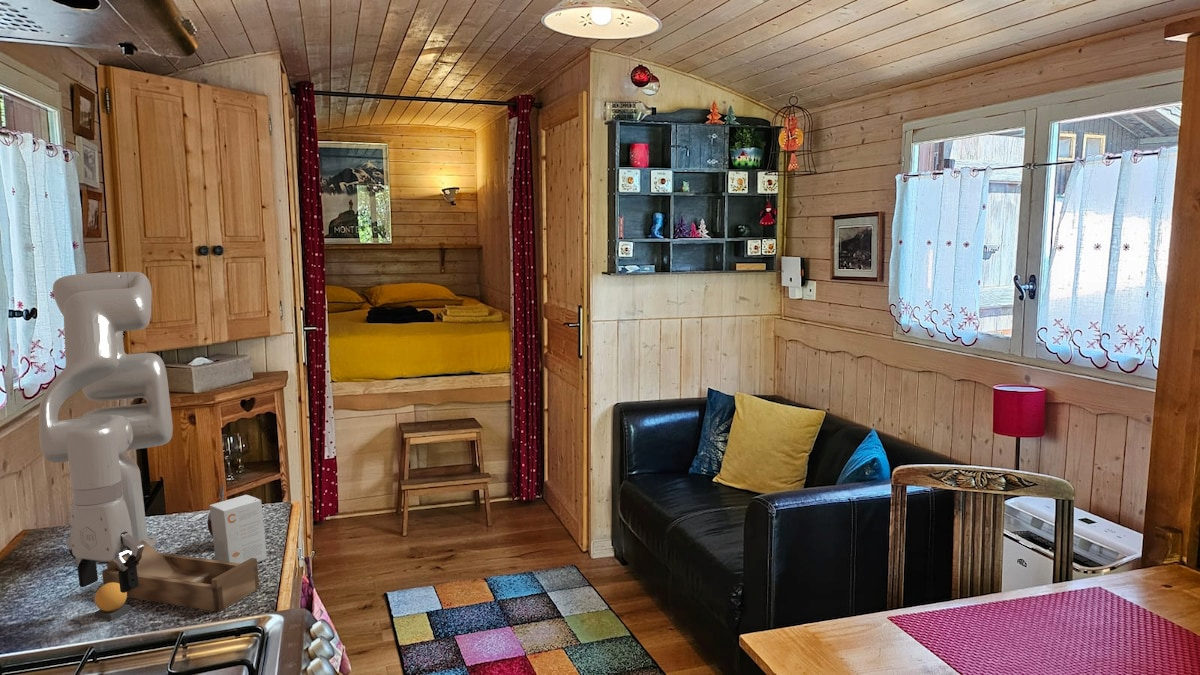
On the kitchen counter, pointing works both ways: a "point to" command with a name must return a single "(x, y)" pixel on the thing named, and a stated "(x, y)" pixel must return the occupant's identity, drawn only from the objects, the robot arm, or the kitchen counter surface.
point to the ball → (110, 597)
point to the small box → (238, 529)
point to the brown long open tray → (189, 580)
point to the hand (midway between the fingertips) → (109, 586)
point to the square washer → (112, 613)
